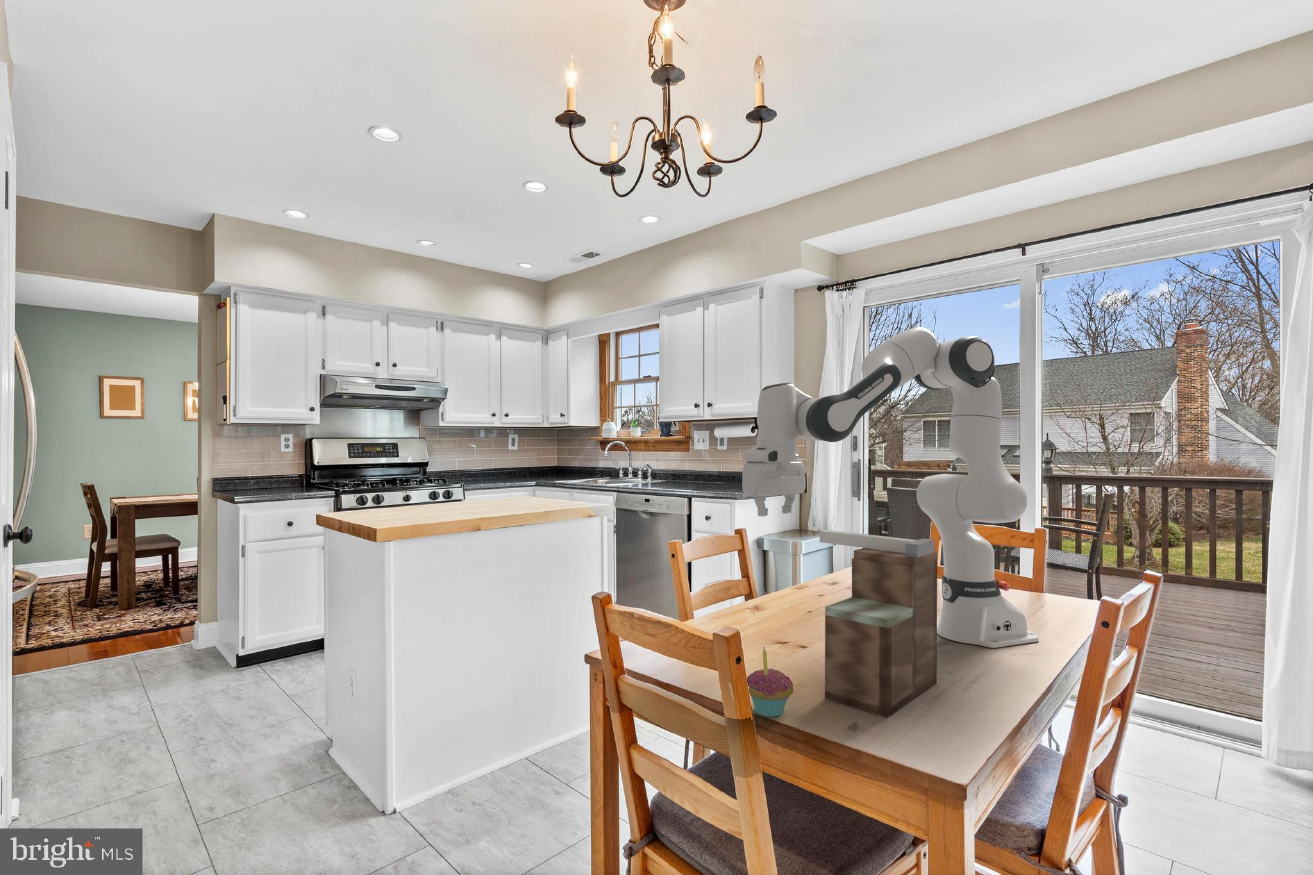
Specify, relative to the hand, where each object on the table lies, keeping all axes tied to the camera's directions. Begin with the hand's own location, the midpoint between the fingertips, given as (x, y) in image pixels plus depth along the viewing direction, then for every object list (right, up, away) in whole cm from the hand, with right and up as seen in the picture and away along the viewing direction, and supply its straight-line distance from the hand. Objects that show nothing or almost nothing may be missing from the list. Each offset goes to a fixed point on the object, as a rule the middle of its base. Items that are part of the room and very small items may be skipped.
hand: (774, 514), depth 150 cm
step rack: (+16, -31, -24) cm, 42 cm away
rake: (+16, -5, -16) cm, 23 cm away
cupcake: (-7, -31, -34) cm, 46 cm away
